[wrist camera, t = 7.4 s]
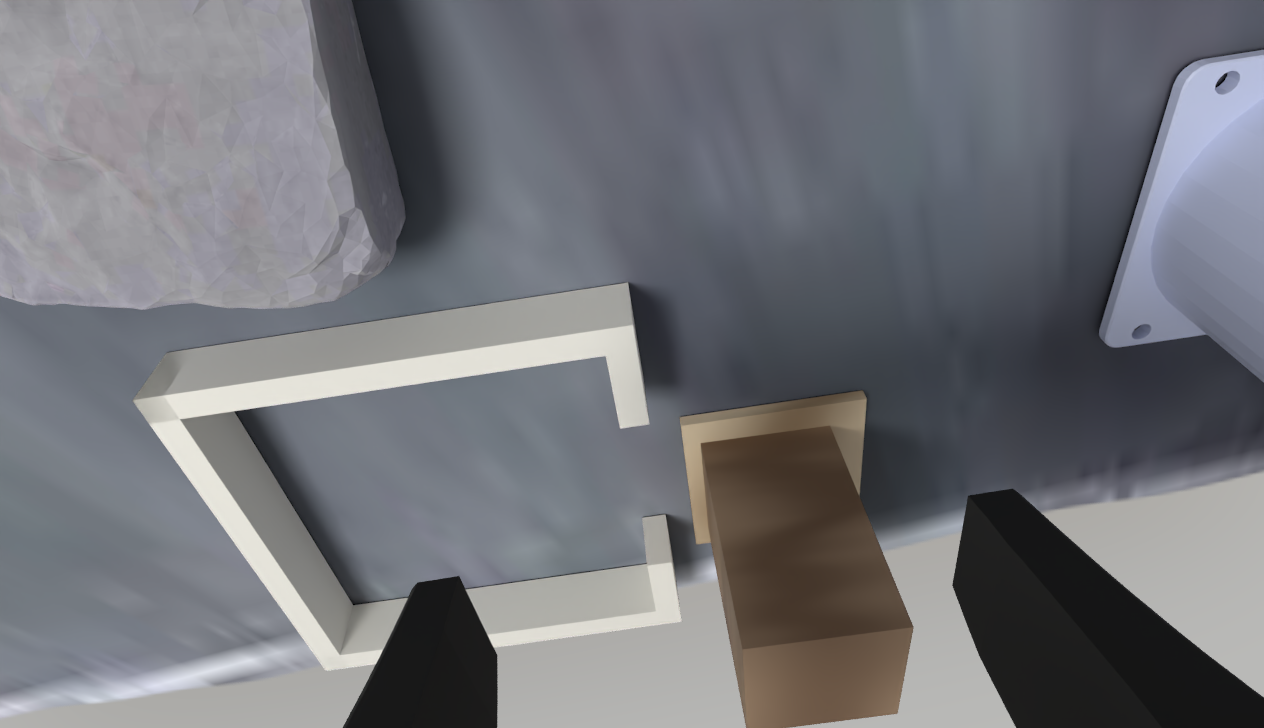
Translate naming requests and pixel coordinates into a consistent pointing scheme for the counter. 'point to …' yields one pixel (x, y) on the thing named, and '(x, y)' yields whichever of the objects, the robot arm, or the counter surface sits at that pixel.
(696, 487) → the cork trivet
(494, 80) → the counter surface
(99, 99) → the stone block
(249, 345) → the white open square frame
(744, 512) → the walnut block
